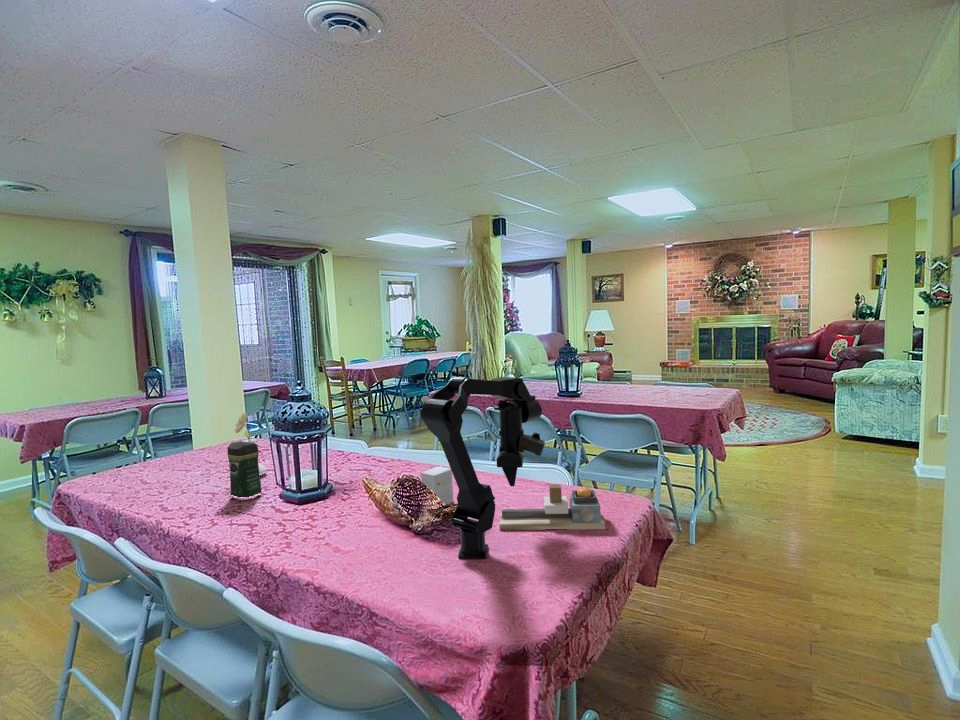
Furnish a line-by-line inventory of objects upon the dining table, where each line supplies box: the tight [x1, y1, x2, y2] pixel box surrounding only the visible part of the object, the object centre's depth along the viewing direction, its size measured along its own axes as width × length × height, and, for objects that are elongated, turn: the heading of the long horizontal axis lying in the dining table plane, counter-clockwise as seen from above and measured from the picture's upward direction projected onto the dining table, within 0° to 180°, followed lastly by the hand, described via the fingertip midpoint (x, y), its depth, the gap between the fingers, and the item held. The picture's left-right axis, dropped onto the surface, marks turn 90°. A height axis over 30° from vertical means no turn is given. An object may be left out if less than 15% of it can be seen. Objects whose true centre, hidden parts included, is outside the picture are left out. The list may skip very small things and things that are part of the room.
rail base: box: [499, 489, 606, 531], centre depth 134 cm, size 10×27×8 cm, turn 85°
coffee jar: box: [227, 440, 262, 497], centre depth 165 cm, size 10×8×19 cm
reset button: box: [576, 487, 592, 497], centre depth 132 cm, size 4×4×2 cm
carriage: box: [543, 483, 569, 514], centre depth 133 cm, size 7×6×6 cm
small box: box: [420, 465, 454, 505], centre depth 150 cm, size 8×6×10 cm
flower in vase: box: [234, 412, 268, 474], centre depth 188 cm, size 13×11×25 cm
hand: (512, 485), depth 129 cm, fingers closed
